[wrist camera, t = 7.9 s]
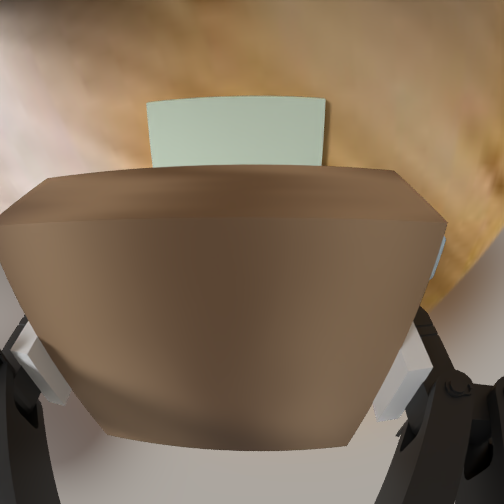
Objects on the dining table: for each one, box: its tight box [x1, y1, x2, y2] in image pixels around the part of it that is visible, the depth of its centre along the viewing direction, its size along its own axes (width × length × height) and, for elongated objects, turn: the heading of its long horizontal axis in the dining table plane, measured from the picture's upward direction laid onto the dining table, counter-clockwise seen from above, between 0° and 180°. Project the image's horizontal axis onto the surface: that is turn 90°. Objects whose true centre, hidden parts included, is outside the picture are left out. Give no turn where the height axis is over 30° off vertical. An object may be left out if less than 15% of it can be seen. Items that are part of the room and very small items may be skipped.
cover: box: [0, 164, 447, 451], centre depth 9 cm, size 10×10×3 cm
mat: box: [146, 96, 326, 168], centre depth 21 cm, size 11×11×1 cm
